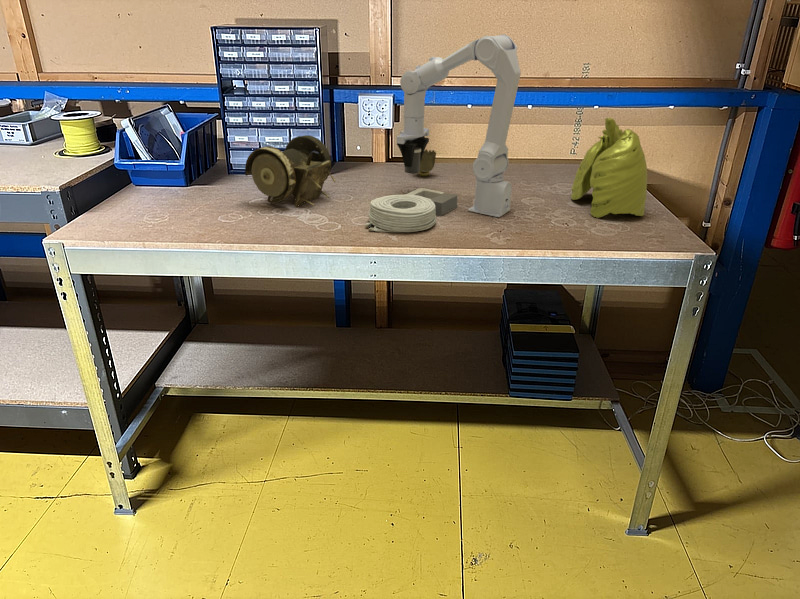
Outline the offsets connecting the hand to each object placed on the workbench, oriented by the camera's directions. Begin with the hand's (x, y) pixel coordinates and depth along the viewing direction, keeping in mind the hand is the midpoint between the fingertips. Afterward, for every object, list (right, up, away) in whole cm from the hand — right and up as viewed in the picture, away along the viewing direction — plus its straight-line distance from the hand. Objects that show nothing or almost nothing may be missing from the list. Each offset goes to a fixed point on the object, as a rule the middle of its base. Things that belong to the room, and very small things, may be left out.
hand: (412, 164), depth 170 cm
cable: (-3, -20, -18) cm, 27 cm away
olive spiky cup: (+4, +1, +22) cm, 22 cm away
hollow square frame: (+5, -14, -7) cm, 16 cm away
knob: (0, -2, +1) cm, 2 cm away
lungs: (+54, -13, -3) cm, 56 cm away
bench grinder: (-32, -11, -3) cm, 34 cm away
